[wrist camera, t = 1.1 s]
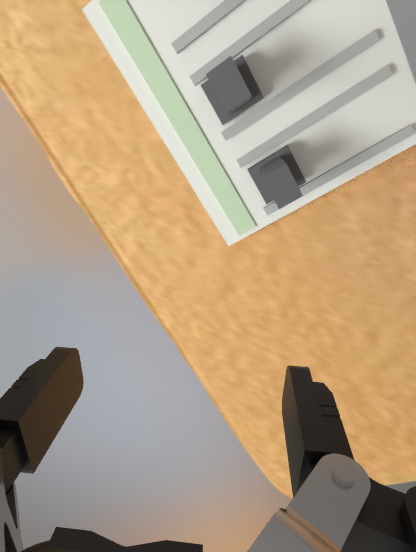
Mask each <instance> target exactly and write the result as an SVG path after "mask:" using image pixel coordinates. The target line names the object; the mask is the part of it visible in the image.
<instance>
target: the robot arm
mask: <svg viewBox="0 0 416 552" xmlns="http://www.w3.org/2000/svg"><path fill="white" fill-rule="evenodd" d="M82 389H83V375H82V369H81V362H80V356H79V351H78V350H77V349H76V348H65V347H56V348H54V349H53V351H52V352H51V353H50V354H49V355H48V357H47V358H46V359H40V360H39V361H37V362H35V363H34V364H32V365H31V366H29V367H28V368H27V369H26V370H25V371H24V372H23V374H22V375H21V376H20V377H19V379H18V380H16V382H15V383H14V384H13V385H12V387H11V388H9V389H8V391H7V392H6V393H5V394H4V395H3V396H2V397H1V398H0V552H203V545H200V544H192V543H184V542H176V541H168V540H165V541H159V542H153V543H147V544H141V545H136V546H129V547H125V546H121V545H119V544H117V543H115V542H113V541H111V540H109V539H107V538H104V537H102V536H100V535H98V534H96V533H94V532H92V531H86V530H78V529H70V528H61V527H56V528H55V531H54V533H53V535H52V537H51V539H50V540H49V541H45V542H42V543H39V544H35V545H33V546H31V547H28V548H26V549H24V548H23V543H22V538H21V530H20V520H19V511H18V501H17V492H16V485H15V479H16V478H17V476H18V475H19V473H20V472H23V473H33V474H34V472H35V470H36V468H37V467H38V465H39V463H40V462H41V460H42V459H43V457H44V455H45V454H46V452H47V450H48V449H49V447H50V445H51V444H52V442H53V440H54V439H55V437H56V435H57V433H58V432H59V430H60V428H61V426H62V425H63V424H64V422H65V420H66V419H67V417H68V415H69V414H70V412H71V410H72V408H73V407H74V405H75V403H76V402H77V400H78V398H79V397H80V395H81V392H82ZM282 416H283V423H284V431H285V439H286V446H287V454H288V462H289V469H290V477H291V484H292V492H293V499H292V501H291V502H290V504H289V505H288V506H287V508H286V509H283V508H280V509H279V510H278V511H277V512H276V513H275V514H274V515H273V517H272V518H271V519H270V521H269V522H268V523H267V525H266V526H265V528H264V529H263V530H262V532H261V533H260V535H259V536H258V537H257V539H256V540H255V542H254V543H253V544H252V546H251V547H250V549H249V550H248V551H247V552H416V486H415V487H412V488H410V489H409V490H408V491H407V493H406V494H404V493H402V492H399V491H397V490H394V489H391V488H389V487H386V486H384V485H382V484H379V483H377V482H376V481H374V480H372V479H371V478H370V477H368V475H367V473H366V471H365V470H364V469H363V468H362V466H361V465H360V464H358V463H357V462H356V461H355V460H354V457H353V455H352V452H351V448H350V445H349V442H348V439H347V436H346V433H345V430H344V427H343V424H342V421H341V419H340V415H339V412H338V409H337V406H336V402H335V399H334V396H333V394H332V392H331V391H330V390H329V389H328V388H327V387H326V385H325V384H324V383H319V382H313V381H312V377H311V373H310V370H309V368H308V367H300V366H287V370H286V377H285V383H284V390H283V397H282Z"/></svg>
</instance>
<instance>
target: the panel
mask: <svg viewBox="0 0 416 552" xmlns="http://www.w3.org/2000/svg"><path fill="white" fill-rule="evenodd" d="M82 10H83V12H84V13H85V15H86V17H87V18H88V20H89V22H90V23H91V25H92V26H93V28H94V30H95V31H96V33H97V34H98V36H99V38H100V39H101V41H102V43H103V44H104V46H105V47H106V49H107V51H108V52H109V54H110V55H111V57H112V59H113V60H114V62H115V64H116V65H117V67H118V68H119V70H120V72H121V73H122V75H123V76H124V78H125V80H126V81H127V83H128V84H129V86H130V88H131V89H132V91H133V93H134V94H135V96H136V97H137V99H138V101H139V102H140V104H141V105H142V107H143V109H144V110H145V112H146V114H147V115H148V117H149V118H150V120H151V122H152V123H153V125H154V126H155V128H156V130H157V131H158V133H159V135H160V136H161V138H162V139H163V141H164V143H165V144H166V146H167V147H168V149H169V151H170V152H171V154H172V156H173V157H174V159H175V160H176V162H177V164H178V165H179V167H180V168H181V170H182V172H183V173H184V175H185V177H186V178H187V180H188V181H189V183H190V185H191V186H192V188H193V189H194V191H195V193H196V194H197V196H198V198H199V199H200V201H201V202H202V204H203V206H204V207H205V209H206V210H207V212H208V214H209V215H210V217H211V219H212V220H213V222H214V223H215V225H216V227H217V228H218V230H219V231H220V233H221V235H222V236H223V238H224V240H225V241H226V243H227V244H228V246H230V245H232V244H234V243H236V242H237V241H239V240H241V239H243V238H245V237H247V236H248V235H250V234H252V233H254V232H256V231H258V230H259V229H261V228H263V227H265V226H267V225H269V224H270V223H272V222H274V221H276V220H278V219H279V218H281V217H283V216H285V215H287V214H289V213H290V212H292V211H294V210H296V209H298V208H300V207H301V206H303V205H305V204H307V203H309V202H311V201H312V200H314V199H316V198H318V197H320V196H322V195H323V194H325V193H327V192H329V191H331V190H332V189H334V188H336V187H338V186H340V185H342V184H343V183H345V182H347V181H349V180H351V179H353V178H354V177H356V176H358V175H360V174H362V173H364V172H365V171H367V170H369V169H371V168H373V167H374V166H376V165H378V164H380V163H382V162H384V161H385V160H387V159H389V158H391V157H393V156H395V155H396V154H398V153H400V152H402V151H404V150H406V149H407V148H409V147H411V146H413V145H415V144H416V0H92V1H91V2H90V3H89V4H87V5H86V6H85V7H84V8H83V9H82Z"/></svg>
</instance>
